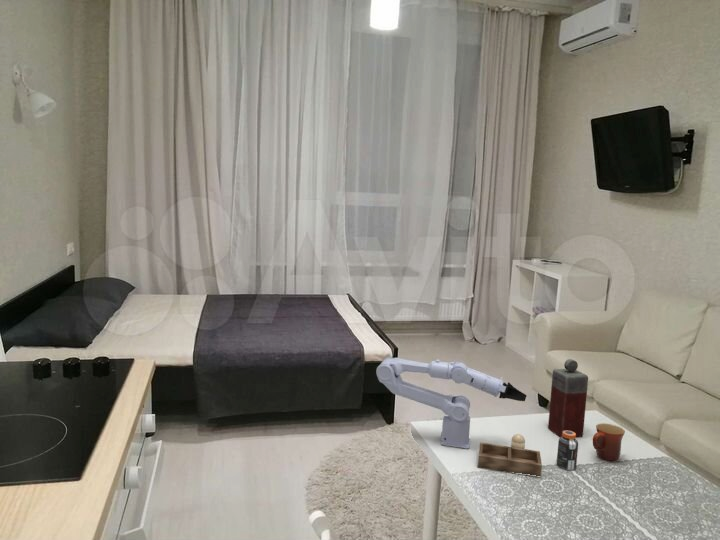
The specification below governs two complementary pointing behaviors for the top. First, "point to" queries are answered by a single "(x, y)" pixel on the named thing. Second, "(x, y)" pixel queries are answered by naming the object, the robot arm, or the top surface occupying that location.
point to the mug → (608, 441)
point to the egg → (518, 441)
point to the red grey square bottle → (568, 400)
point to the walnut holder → (509, 459)
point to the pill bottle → (567, 450)
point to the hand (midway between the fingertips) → (523, 398)
